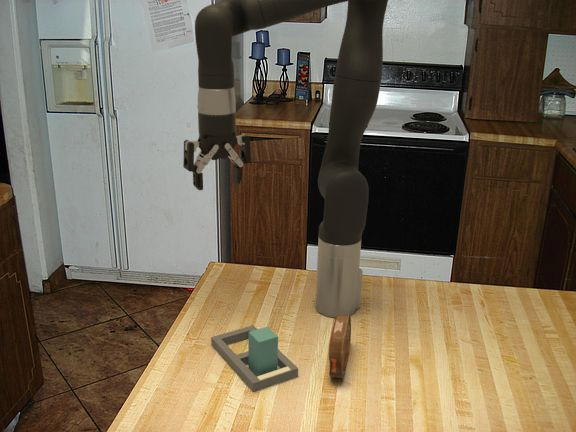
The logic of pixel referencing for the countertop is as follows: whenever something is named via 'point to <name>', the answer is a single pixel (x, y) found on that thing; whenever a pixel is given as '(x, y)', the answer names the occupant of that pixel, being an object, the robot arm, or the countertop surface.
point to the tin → (340, 346)
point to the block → (262, 351)
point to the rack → (241, 361)
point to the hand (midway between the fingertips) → (218, 186)
